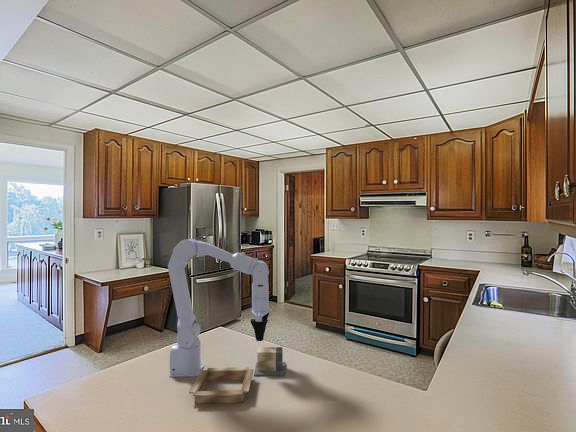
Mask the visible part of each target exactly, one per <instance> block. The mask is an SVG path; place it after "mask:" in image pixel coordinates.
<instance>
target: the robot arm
mask: <svg viewBox="0 0 576 432" xmlns="http://www.w3.org/2000/svg"><path fill="white" fill-rule="evenodd" d="M196 256H197V257H201V256H202V257H203V256H210V257H212V258H215V259H218V260H221V261H223V262H227V263H229V265H230V268H231V269H234V270H237V271H239V272H241V273H244V274H247V275H251V276H252V283H251V314H253V316H254V318H251V319H250V324H251V326H252V328H253V331H254V335H255V341H256V342H263V341H264V337H265V332H266V329H267V328H266V327H267V324H268V322H269V320H268V318H269V315H270V313H272V312H273V308H270V303H269V301H270V299H269V298H270V296H269V295H270V293H269V290H270V289H269V287H270V286H269V285H270V284H269V277H268V276H270V275H269V274H270V269H269V266H268V264H267V263H266V262H265V261H263V260H261V259H260V260H259V258H257V257H255V258H254V257H251V256H248V255H246V252H243V251H241V252H235V253H231V252H229V251H226V250H225V249H223V248H221V247H217V246H216V245H213V244H212V243H209V242H206V241H203V240H197V239H196V238H187V239H183V240H180V241H179V242H178V243H177V244H176V245H175V246H174V247H173V250H172V254H171V256H170V259H169V261H168V264H167V270H168V275H169V279H170V284H171V285H170V286H171V289H172V294H173V295H172V296H173V300H174V305H175V310H176V316H177V326H176V328H177V335H176V337H175V338H176V343H177V344H173V345H172V346H171V349H170V353H169V374H168V376H169V378H171V377H172V378H173V377H175V378H176V377H177V378H179V377H180V378H181V377H182V378H183V377H185V378H186V377H189V378H190V377H198V376H199V374H200V373H201V371H202V370H204V369H203V368H205V364H204V363H203V364H201V361H202V360H201V358H202V357H201V340H200V339H199V336H200V334H201V332H202V327H201V325H200V323H199V322H198V320H197V317H196V315H195V313H194V311H193V310H194V309H193V305H192V299H191V296H190V291H189V285H188V280H187V275H186V269H185V268H186V266H187V265H188V263H189V262H190V261H191V260H192V259H193V258H195V257H196Z"/></svg>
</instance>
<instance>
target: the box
mask: <svg viewBox="0 0 576 432" xmlns="http://www.w3.org/2000/svg"><path fill="white" fill-rule="evenodd" d="M256 356H257V362H258V371H282V367H283V362H284V360H283V359H284V358H283V357H284V354H283V346H264V347H263V346H259V347H258V349H257V355H256Z"/></svg>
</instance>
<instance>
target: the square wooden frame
mask: <svg viewBox="0 0 576 432" xmlns="http://www.w3.org/2000/svg"><path fill="white" fill-rule="evenodd" d="M254 371H255V369H253V368H252V369H251V368H250V367H249V366H247V367H245V366H244V367H243V366H242V367H241V366H240V367H237V366H235V367H207V369H202V371H201V372H200V374H199V376H197V378H196V379H195V382H194V383H193V385H192V386H191V389H190V390H189V391H188V393H189V394H192V397H194V404H225V403H226V404H228V403H230V404H232V403H233V404H234V403H237V404H238V403H244V401H245V398H246V397H245V396H246V393H249V391H250V388H251V383H252V379H253V376H254ZM211 381H213V382H214V381H215V382H216V381H243V382H242V386H241V388H240V389H238V390H236V389H235V390H233V389H232V390H230V389H229V390H205V388H206V386H207V384H208V383H209V382H211Z"/></svg>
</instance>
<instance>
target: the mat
mask: <svg viewBox="0 0 576 432" xmlns="http://www.w3.org/2000/svg"><path fill="white" fill-rule="evenodd" d="M253 376H254V377H279V376H286V361H283V367H282V371H258V361H256V363H255V369H254V371H253Z"/></svg>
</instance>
